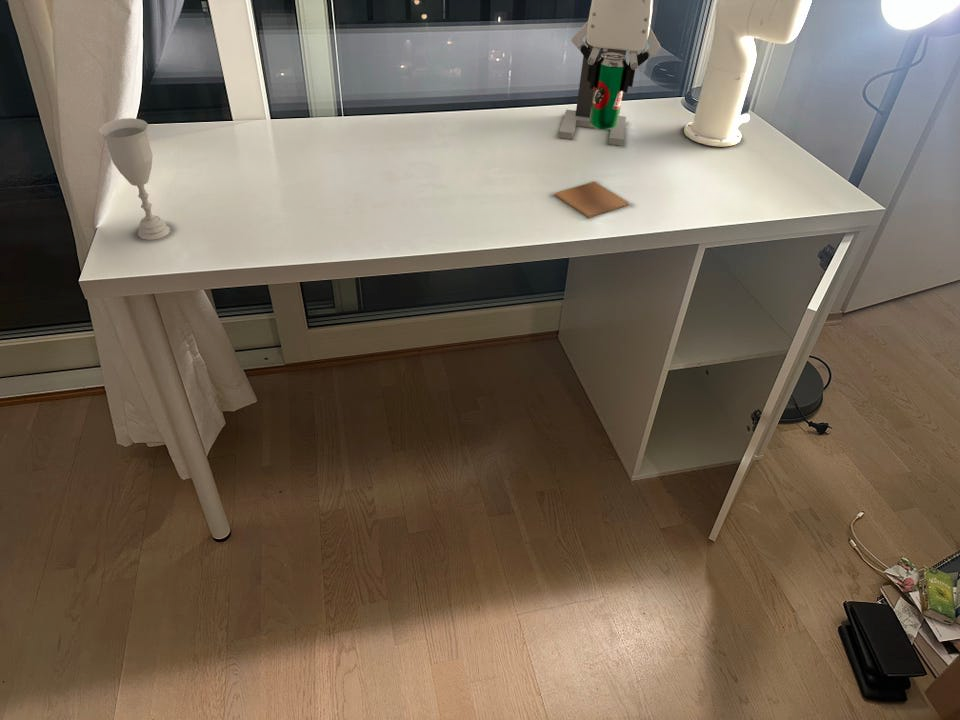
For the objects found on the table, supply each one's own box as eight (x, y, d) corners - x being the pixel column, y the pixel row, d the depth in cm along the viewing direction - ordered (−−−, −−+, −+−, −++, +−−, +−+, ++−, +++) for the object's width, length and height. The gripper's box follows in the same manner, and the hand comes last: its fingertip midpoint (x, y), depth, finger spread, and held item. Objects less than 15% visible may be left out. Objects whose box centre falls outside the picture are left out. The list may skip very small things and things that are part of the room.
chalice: (139, 221, 121) (108, 118, 109) (180, 221, 121) (153, 118, 110) (126, 243, 115) (92, 137, 104) (169, 243, 116) (140, 137, 104)
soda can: (616, 132, 124) (628, 62, 117) (587, 129, 125) (597, 59, 117) (617, 121, 128) (629, 53, 120) (590, 118, 129) (600, 50, 121)
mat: (593, 183, 139) (594, 181, 139) (628, 205, 133) (629, 202, 133) (554, 195, 135) (554, 192, 134) (588, 217, 129) (589, 215, 128)
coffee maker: (565, 115, 166) (577, 17, 152) (625, 122, 164) (642, 24, 150) (558, 137, 156) (570, 35, 142) (621, 145, 154) (640, 43, 140)
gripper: (682, -29, 112) (658, 86, 124) (576, -39, 115) (562, 75, 126) (682, -18, 107) (657, 101, 118) (570, -29, 109) (557, 90, 121)
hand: (608, 87), depth 122 cm, fingers closed on soda can, 5 cm apart
